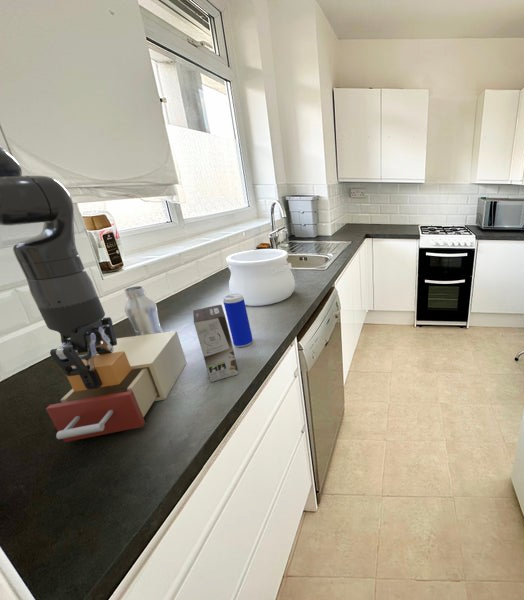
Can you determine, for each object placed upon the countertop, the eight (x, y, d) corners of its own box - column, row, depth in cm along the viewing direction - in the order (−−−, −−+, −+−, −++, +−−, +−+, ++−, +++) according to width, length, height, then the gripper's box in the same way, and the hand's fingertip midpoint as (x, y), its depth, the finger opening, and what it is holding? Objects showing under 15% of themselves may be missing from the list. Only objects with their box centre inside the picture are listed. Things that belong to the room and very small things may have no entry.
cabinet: (165, 399, 70) (151, 363, 66) (90, 413, 66) (72, 375, 62) (186, 362, 84) (176, 330, 80) (126, 371, 80) (112, 338, 76)
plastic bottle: (140, 356, 87) (115, 288, 79) (170, 347, 91) (148, 282, 83) (143, 365, 82) (117, 295, 75) (174, 356, 86) (151, 288, 79)
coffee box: (239, 374, 78) (225, 316, 72) (210, 382, 75) (192, 322, 69) (235, 357, 85) (222, 303, 79) (208, 364, 82) (192, 309, 76)
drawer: (131, 446, 57) (116, 412, 54) (45, 464, 53) (23, 429, 50) (169, 383, 74) (159, 354, 71) (106, 393, 70) (92, 364, 67)
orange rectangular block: (74, 391, 58) (64, 372, 56) (90, 375, 62) (81, 357, 61) (119, 384, 60) (111, 364, 58) (131, 369, 64) (124, 351, 63)
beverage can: (256, 340, 94) (247, 293, 89) (245, 348, 90) (234, 300, 84) (242, 338, 95) (231, 292, 90) (230, 346, 91) (218, 299, 85)
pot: (308, 288, 137) (303, 248, 130) (278, 310, 115) (270, 264, 108) (254, 285, 141) (247, 247, 135) (216, 306, 119) (204, 261, 112)
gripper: (68, 311, 49) (107, 397, 56) (114, 283, 62) (142, 356, 68) (6, 317, 47) (54, 406, 54) (67, 287, 60) (100, 362, 66)
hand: (103, 378), depth 61 cm, fingers closed on orange rectangular block, 5 cm apart
